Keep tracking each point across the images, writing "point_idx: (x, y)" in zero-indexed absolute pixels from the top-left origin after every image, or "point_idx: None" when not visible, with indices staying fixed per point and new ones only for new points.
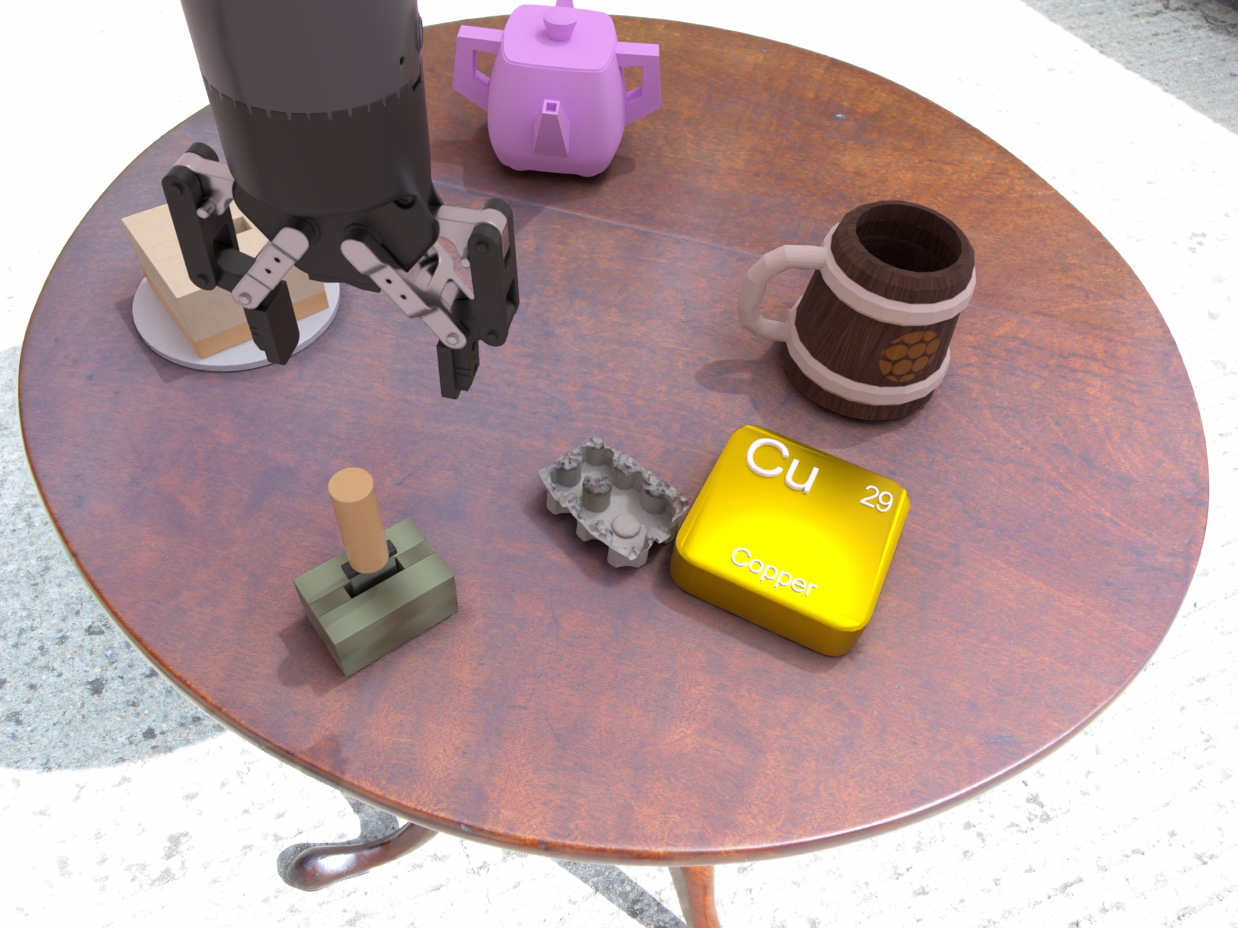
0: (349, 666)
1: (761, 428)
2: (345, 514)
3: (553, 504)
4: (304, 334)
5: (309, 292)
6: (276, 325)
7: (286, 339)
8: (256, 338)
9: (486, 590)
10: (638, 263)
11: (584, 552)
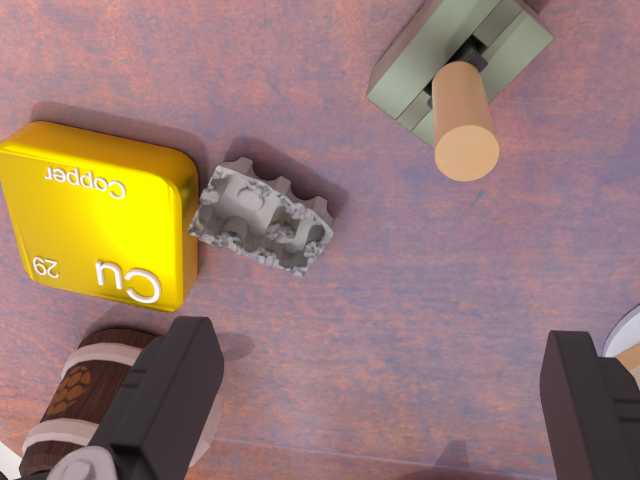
0: None
1: (161, 310)
2: (466, 111)
3: (317, 204)
4: (630, 328)
5: (635, 372)
6: (573, 436)
7: (555, 391)
8: (628, 389)
9: (352, 100)
10: (338, 427)
11: (276, 164)
